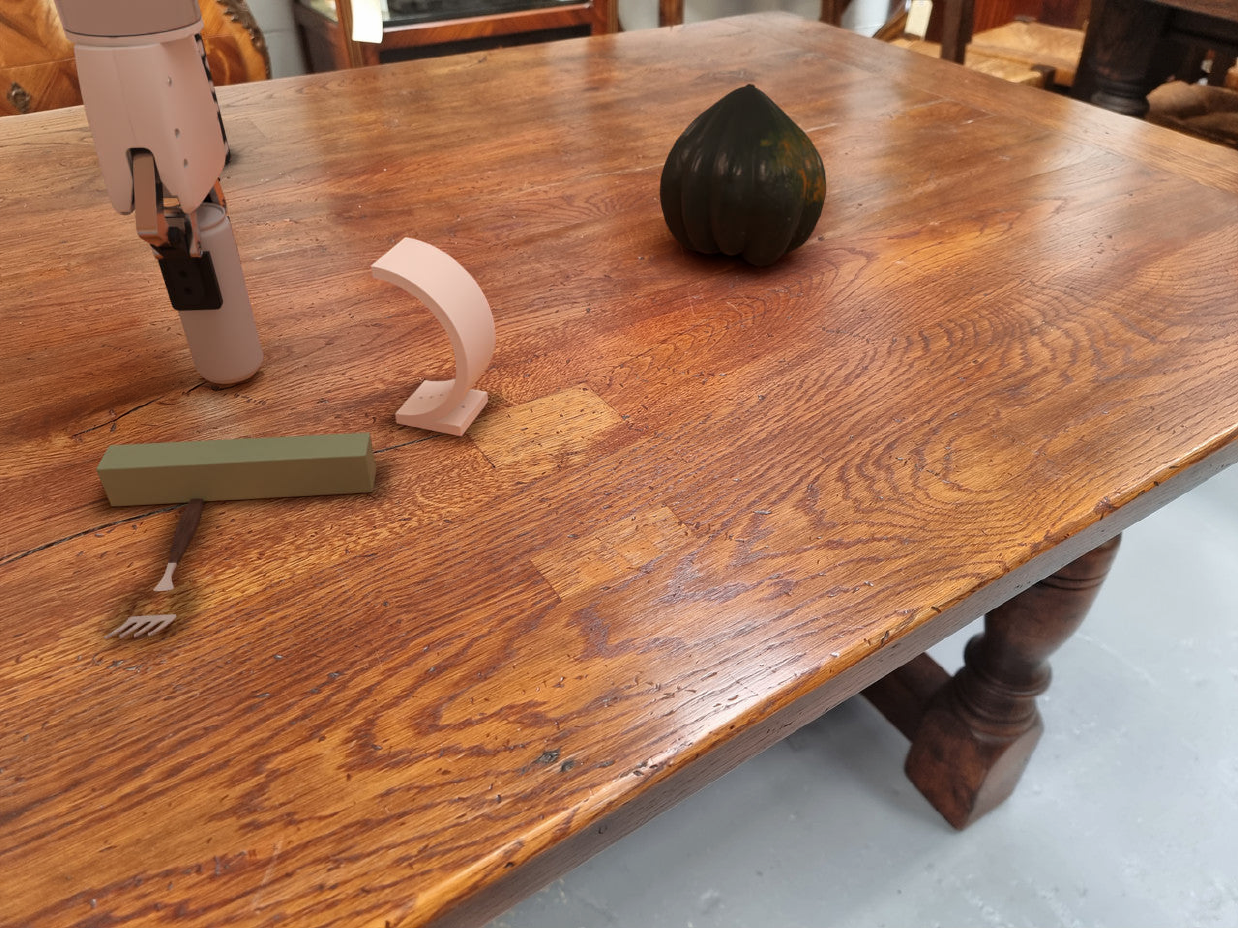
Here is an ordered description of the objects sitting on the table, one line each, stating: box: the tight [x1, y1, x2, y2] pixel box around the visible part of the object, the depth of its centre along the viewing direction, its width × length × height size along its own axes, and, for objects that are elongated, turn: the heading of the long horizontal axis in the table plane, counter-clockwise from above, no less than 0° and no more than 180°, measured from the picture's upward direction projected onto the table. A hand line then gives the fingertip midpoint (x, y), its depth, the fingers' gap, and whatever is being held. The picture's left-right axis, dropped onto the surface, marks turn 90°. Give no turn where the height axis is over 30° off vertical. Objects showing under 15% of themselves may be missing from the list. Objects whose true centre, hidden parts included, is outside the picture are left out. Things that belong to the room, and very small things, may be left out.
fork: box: [104, 499, 205, 640], centre depth 54 cm, size 3×16×2 cm, turn 6°
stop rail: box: [95, 432, 378, 507], centre depth 58 cm, size 16×2×3 cm, turn 96°
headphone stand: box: [370, 236, 497, 437], centre depth 62 cm, size 5×6×12 cm
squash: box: [659, 83, 827, 267], centre depth 85 cm, size 14×15×15 cm
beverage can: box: [165, 202, 265, 385], centre depth 65 cm, size 5×5×12 cm
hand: (208, 286), depth 64 cm, fingers closed on beverage can, 4 cm apart
